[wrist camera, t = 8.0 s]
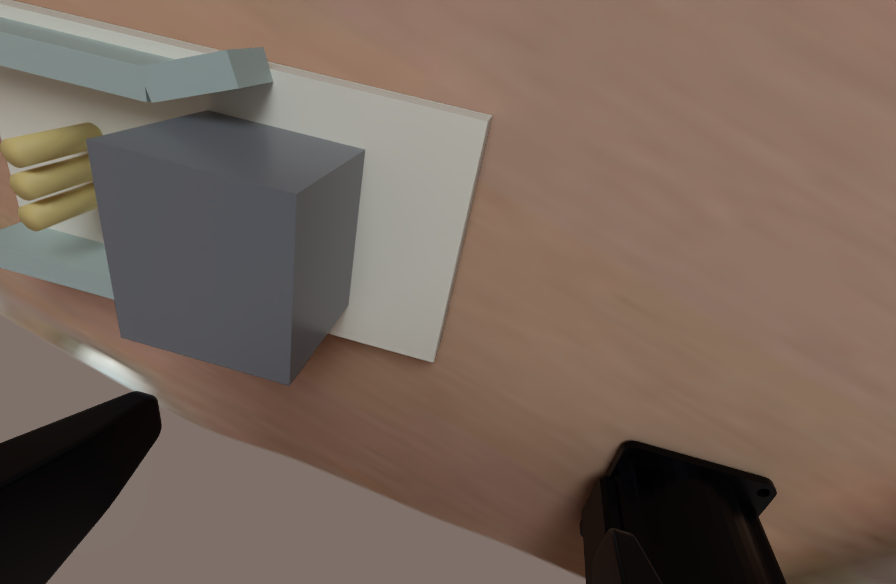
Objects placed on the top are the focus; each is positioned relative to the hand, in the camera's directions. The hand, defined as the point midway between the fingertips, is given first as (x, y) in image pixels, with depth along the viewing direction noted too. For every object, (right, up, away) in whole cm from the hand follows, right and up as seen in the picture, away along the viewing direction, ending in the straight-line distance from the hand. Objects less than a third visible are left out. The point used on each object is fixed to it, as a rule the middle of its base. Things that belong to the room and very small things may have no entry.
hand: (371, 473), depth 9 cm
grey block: (-5, +6, +9) cm, 12 cm away
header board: (-7, +7, +10) cm, 14 cm away
